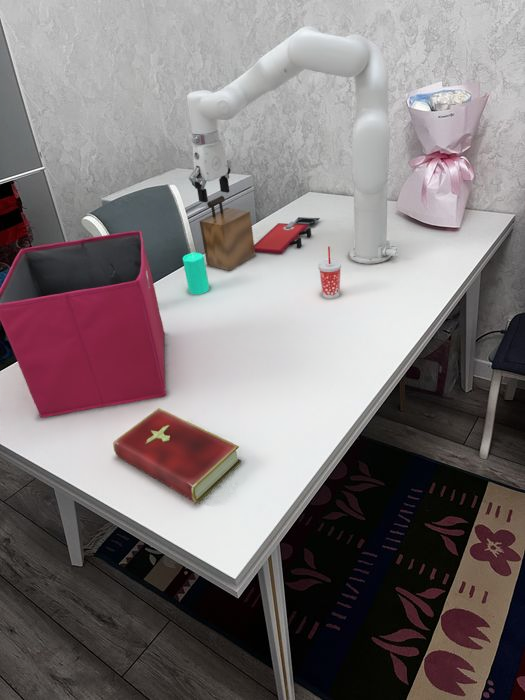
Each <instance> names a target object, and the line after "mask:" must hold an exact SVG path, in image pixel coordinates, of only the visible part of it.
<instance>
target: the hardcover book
mask: <svg viewBox="0 0 525 700" xmlns="http://www.w3.org/2000/svg"><path fill="white" fill-rule="evenodd" d="M112 446H113V451H114V453H115V455H116V457H117V458H119V459H121V460H123V461H124V462H126V463H128V464H129V465H131V466H132V467H135V468H136V469H137V470H140V471H141V472H143V473H145V474H146V475H148V476H150V477H151V478H153V479H155V480H156V481H158V482H160V483H162V484H163V485H165V486H166V487H168V488H170V489H171V490H174V491H175V492H177V493H178V494H180V495H182V496H184V497H185V498H187V499H189V500H191V501H192V502H194V503H196V504H199V503H200V502H201V501H202V500H204V498H205V497H206V496H208V495H209V494H210V493H211V492H212V491H213V490H214V489H215V488H216V487H217V486H218V485H220V483H221V482H223V480H224V479H225V478H227V476H228V475H229V474H230V473H232V472H233V471H234V470H235V469H236V468H237V467H238V466H239V465H240V464H241V463H242V460H241V459H239V458H238V454H237V450H238V449H239V448H240V447H239V445H237V444H235V443H233V442H231V441H229V440H226V439H225V438H223V437H220V436H218V435H216V434H215V433H212V432H211V431H208V430H205V429H204V428H201V427H199V426H197V425H196V424H193V423H192V422H189V421H188V420H185V419H183V418H181V417H180V416H179V417H178V416H176V415H175V414H172V413H171V412H168V411H166V410H164V409H162V408H160V407H158V408H157V409H155V410H154V411H152V412H151V413H150V414H149V415H147V416H146V417H144V418H143V419H142V420H140V421H139V422H138V423H137V424H135V425H133V427H131V428H130V429H129V430H127V431H126V432H125V433H123V434H122V435H121V436H119V437H118V438H116V439H115V440H113V443H112Z"/></svg>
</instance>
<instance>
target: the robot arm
mask: <svg viewBox="0 0 525 700" xmlns="http://www.w3.org/2000/svg"><path fill="white" fill-rule="evenodd" d="M304 70H308V71H311V72H316V73H320V74H321V73H322V74H327V75H330V76H331V75H332V76H336V77H342V78H353V77H354V84H355V93H354V94H355V114H354V122H353V126H352V133H351V181H352V184H353V220H354V221H353V226H354V227H353V229H354V247H353V248H352V249H351V250H350V251H349V258H350V260H352V261H353V262H356V263H359V264H365V265H366V264H367V265H369V264H370V265H372V264H379V263H384V262H385V261H388V260H389V259H391V258H392V257H395V258H396V257H398V254H399V251H398V250H399V249H398V247H397V246H391V241H390V240H387V239H388V238H387V236H388V233H387V232H388V228H387V227H388V188H389V187H388V185H389V182H388V181H389V180H388V179H389V163H390V139H391V137H390V136H391V131H390V129H391V128H390V121H389V120H390V119H389V72H388V66H387V62H386V60H385V57H384V55H383V53H382V51H381V50H380V48H379V47H378V46H377V45H376V44H375V43H374V42H373V41H371V40H370V39H368V38H366V37H365V36H363V35H359V34H349V35H347V36H339V35H334V34H330V33H329V34H328V33H324V32H320V31H319V30H318V29H317V28H316V27H314V26H310V25H307V26H303V27H301V28H299V29H297V30H296V31H295V32H294V33H293V34H291V35H290V36H288V37H287V38H286V39H285V40H283V41H282V42H280V43H279V44H278V45H276V46H275V47H273V48H272V49H271V50H269V51H268V52H266V53H265V54H264V55H263V56H261V57H260V58H259V59H257V61H256V62H255V63H254V65H252V66H251V68H249V69H247V70H246V71H245V72H244V73H242V74H241V75H240V76H239V77H237V78H235V80H233V81H232V82H230V83H229V84H227V85H226V86H224V87H223V88H221V89H220V90H218V91H214V92H213V91H211V90H207V89H203V90H195V91H191V92H189V93H188V94H187V96H186V103H187V109H188V116H189V121H190V128H191V135H192V138H191V143H192V144H193V146H192V161H193V170H192V172H191V173H190V175H189V176H188V179H189V182H190V183H191V185H192V186H193V187H194V189H196V190H197V198H198V201H199V202H201V203H208V202H209V199H208V191H207V188H205V187H206V184H207V182H212V181H215V180H217V179H218V181H219V188H220V193H221V192H222V193H230V183H229V179H230V174H231V167H232V161H230V160H228V159H227V154H226V150H225V147H224V144H223V141H222V139H220V133H219V125H218V120H221V121H228V120H232V119H234V118H235V117H236V116H237V115H238V114H239V113H240V112H241V111H242V110H244V109H245V108H247V107H248V106H249V105H251V104H252V103H253V102H255V101H256V100H257V99H259V98H261V97H262V96H264V95H265V94H267V93H270V92H272V91H275V90H277V89H279V88H280V87H282V86H284V85H285V84H286V83H287V82H288V81H290V80H292V79H293V78H294V77H296V76H297V75H299V74H300V73H301V72H303V71H304Z"/></svg>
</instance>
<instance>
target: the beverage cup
mask: <svg viewBox="0 0 525 700" xmlns="http://www.w3.org/2000/svg"><path fill="white" fill-rule="evenodd" d="M327 256H328V259H326V260H322V261H320V262H319V263H318V264H317V266H318V267H317V268H318V270H319V276H320V277H319V278H320V284H321V292H322V297H323V298H325V299H330V300H331V299H336V298H338V297H340V288H341V268H342V262H340V261H339V260H337V259H331V246H327Z"/></svg>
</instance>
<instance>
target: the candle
mask: <svg viewBox="0 0 525 700" xmlns="http://www.w3.org/2000/svg"><path fill="white" fill-rule="evenodd" d="M205 260H206V259H205V255H204V254H202V253H200V252H194V251H191V252H190V253H187V254H185V255H184V256H183V257H182V263H183V267H184V272H185V277H186V283H187V288H188V292H189V293H190V294H191V295H203V294H206V293H207V292H209V290H210V283H209V278H208V272H207V267H206V266H207V265H206V261H205Z"/></svg>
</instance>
